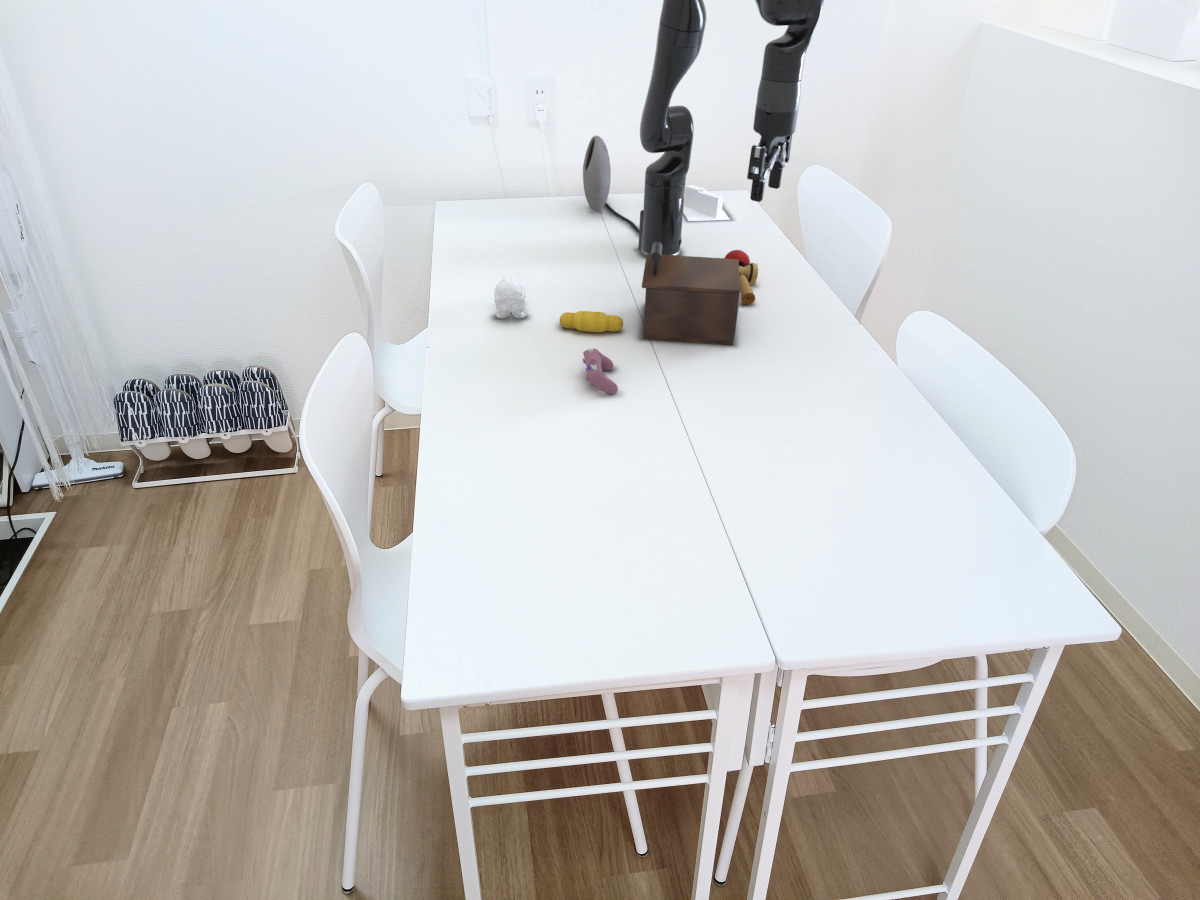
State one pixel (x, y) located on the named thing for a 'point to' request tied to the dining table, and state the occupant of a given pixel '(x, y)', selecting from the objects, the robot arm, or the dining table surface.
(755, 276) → the kendama
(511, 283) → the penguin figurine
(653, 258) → the lid
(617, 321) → the yellow lobed rod
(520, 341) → the dining table surface
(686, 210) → the napkin holder
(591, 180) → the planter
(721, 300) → the toy chest
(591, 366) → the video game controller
